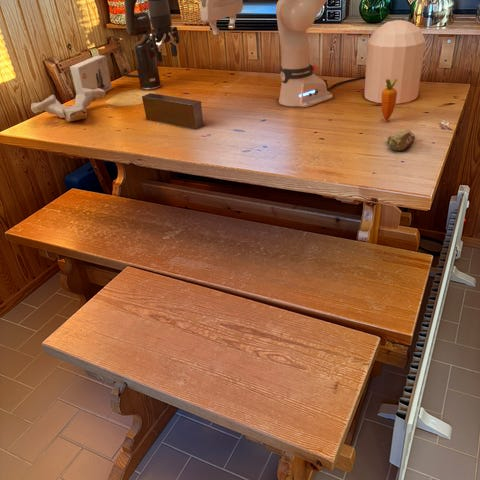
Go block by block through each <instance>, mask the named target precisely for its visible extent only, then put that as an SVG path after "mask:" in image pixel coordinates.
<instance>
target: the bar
mask: <svg viewBox="0 0 480 480" xmlns="http://www.w3.org/2000/svg"><path fill="white" fill-rule="evenodd" d="M141 100H142V104H143V109H144V114H145V119H146V120H149V121H152V122H159V123H163V124H168V125H173V126H177V127H183V128H188V129H193V130H197V129H199V128H201V127H203V126H205V123H204V121H205V120H204V114H203V108H202V101H201V100H198V99H197V100H196V99H190V98H184V97H178V96H170V95H165V94H159V93H152V92H149V93H147V94H145V95H142V96H141Z"/></svg>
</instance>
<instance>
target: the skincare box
mask: <svg viewBox="0 0 480 480" xmlns="http://www.w3.org/2000/svg"><path fill="white" fill-rule="evenodd" d="M69 70H70V74H71V78H72V82H73V86H74V90H75V94H76V95H79V94H82V91H81V90H82V88H87V89H94V90H95V89H98V88H99V89H102V90H105V92H106V93H107V92H108V91H110V90H112V89H113V86H112V81H111V76H110V72H109V71H110V70H109V66H108V62H107V57H106V55H100V54H99V55H95V56H92V57H90V58H87V59H85V60H83V61H80V62H78V63H75V64H73V65H71V66H69Z"/></svg>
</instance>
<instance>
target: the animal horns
mask: <svg viewBox="0 0 480 480" xmlns="http://www.w3.org/2000/svg"><path fill="white" fill-rule="evenodd" d="M81 91H82V94H79V95H77V94H76V95H75V103H74V104H73V105H69V106H65V105H63V104H62V103H61V102H60V101H59V100H58V99H57V98H56V97H57V96H56V95H55V94H51V95H49V96H48V97H47V98H45V99H43V100H42V101H39V102H31V105H30V110H31V112H32V113H34V114H37V113H42V112H43V111H44V112H47V113H48V114H50V115H56V116H58V117H59V118H60V119H63V118H64V119H65V120H66V121H67V122H68V123H70V122H76V121H80V120H83V119H86V118H87V117H88V112H87V108H88V107H89V106H90V105H91V103H92V101H93V100H95V99H103V98H105V97H106V95H107V92H105V90H102V89H99V88H98V89H95V90H94V89H87V88H82V90H81Z"/></svg>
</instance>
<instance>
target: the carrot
mask: <svg viewBox="0 0 480 480" xmlns="http://www.w3.org/2000/svg"><path fill="white" fill-rule="evenodd" d="M396 81H397V79H395V80H394V82H393V84H391V82H390V79H386V83H387V85H386V87H387V88H386V89H384V90H383V91H382V98H381V103H380V104H381V112H382V113H381V114H382V117H383V119H384V120H385V121H386V122H388V121H389V119H390V118H391V117H392V114H393V112H394V109H395V106H396V104H395V102H396V95H397V91H396V90H395V89H394V88H393V86H394V84H395V83H396ZM389 85H390V86H389ZM391 85H392V86H391Z"/></svg>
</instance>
